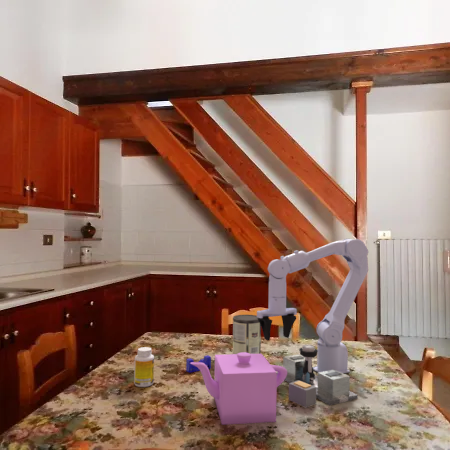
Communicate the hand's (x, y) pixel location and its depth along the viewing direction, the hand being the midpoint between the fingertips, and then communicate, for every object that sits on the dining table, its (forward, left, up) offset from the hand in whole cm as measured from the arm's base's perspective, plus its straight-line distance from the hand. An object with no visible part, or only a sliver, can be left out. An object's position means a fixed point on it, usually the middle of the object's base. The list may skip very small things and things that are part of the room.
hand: (276, 338), depth 131 cm
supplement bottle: (+42, -7, -11) cm, 44 cm away
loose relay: (+8, +23, -10) cm, 27 cm away
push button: (-2, +14, -10) cm, 17 cm away
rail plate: (-2, +16, -10) cm, 19 cm away
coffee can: (+1, -17, -11) cm, 20 cm away
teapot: (+26, +20, -11) cm, 34 cm away
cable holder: (+23, -12, -11) cm, 28 cm away
